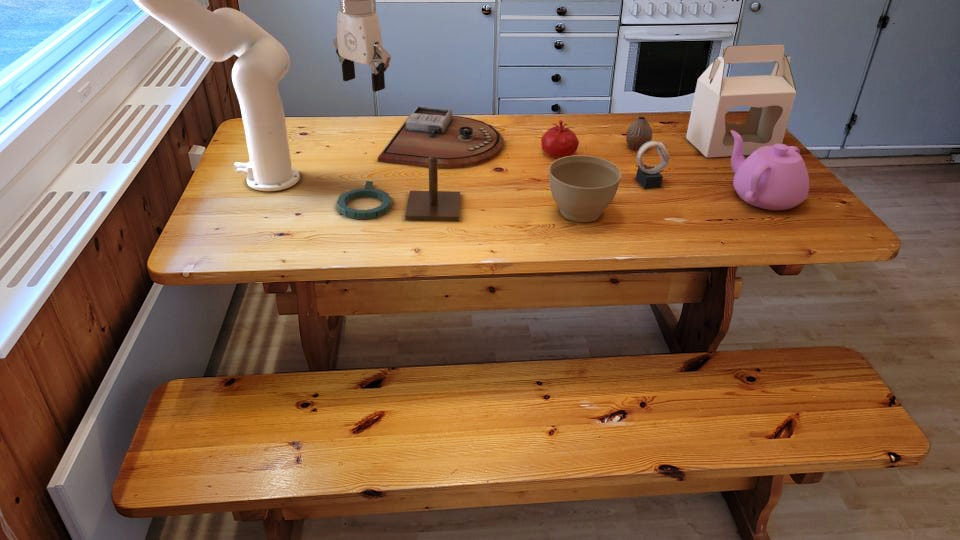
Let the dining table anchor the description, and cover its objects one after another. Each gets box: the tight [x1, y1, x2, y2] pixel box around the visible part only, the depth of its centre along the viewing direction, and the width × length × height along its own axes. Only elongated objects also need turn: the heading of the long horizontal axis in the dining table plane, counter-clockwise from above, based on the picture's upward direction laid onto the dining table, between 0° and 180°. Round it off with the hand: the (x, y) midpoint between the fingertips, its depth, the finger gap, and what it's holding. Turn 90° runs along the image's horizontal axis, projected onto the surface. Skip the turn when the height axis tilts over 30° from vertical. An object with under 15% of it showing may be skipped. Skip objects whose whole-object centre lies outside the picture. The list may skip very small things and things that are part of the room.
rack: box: [404, 155, 461, 222], centre depth 162 cm, size 12×12×13 cm
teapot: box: [730, 130, 810, 211], centre depth 171 cm, size 22×22×14 cm
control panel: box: [377, 105, 504, 170], centre depth 194 cm, size 31×5×30 cm
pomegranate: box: [540, 119, 580, 159], centre depth 189 cm, size 10×10×9 cm
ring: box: [336, 180, 392, 220], centre depth 166 cm, size 12×16×2 cm
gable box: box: [685, 43, 797, 159], centre depth 191 cm, size 22×13×28 cm, turn 101°
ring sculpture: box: [635, 140, 671, 190], centre depth 175 cm, size 6×8×11 cm
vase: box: [625, 115, 653, 152], centre depth 193 cm, size 7×7×9 cm
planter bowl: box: [548, 154, 622, 223], centre depth 162 cm, size 16×16×11 cm
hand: (363, 84), depth 159 cm, fingers open, 9 cm apart
